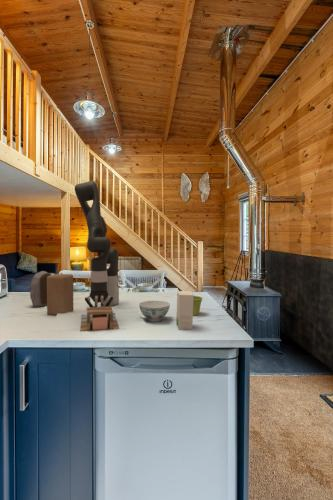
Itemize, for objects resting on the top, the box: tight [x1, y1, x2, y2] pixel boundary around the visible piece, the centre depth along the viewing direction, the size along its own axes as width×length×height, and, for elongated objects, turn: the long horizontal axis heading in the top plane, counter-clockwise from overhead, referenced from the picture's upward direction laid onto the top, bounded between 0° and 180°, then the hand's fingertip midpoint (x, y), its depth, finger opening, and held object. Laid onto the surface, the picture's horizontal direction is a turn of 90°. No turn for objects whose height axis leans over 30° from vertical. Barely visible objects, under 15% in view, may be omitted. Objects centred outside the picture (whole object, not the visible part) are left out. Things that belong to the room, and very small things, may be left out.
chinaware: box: [138, 300, 171, 322], centre depth 146 cm, size 15×15×8 cm
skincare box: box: [175, 290, 195, 330], centre depth 134 cm, size 8×7×16 cm
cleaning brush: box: [29, 270, 52, 307], centre depth 174 cm, size 15×8×20 cm, turn 160°
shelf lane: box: [79, 306, 120, 332], centre depth 137 cm, size 26×16×9 cm, turn 14°
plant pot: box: [193, 295, 203, 316], centre depth 157 cm, size 9×9×9 cm
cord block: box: [92, 314, 107, 331], centre depth 134 cm, size 18×6×5 cm, turn 14°
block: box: [46, 273, 74, 316], centre depth 156 cm, size 10×10×20 cm
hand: (99, 317), depth 138 cm, fingers closed on cord block, 1 cm apart
